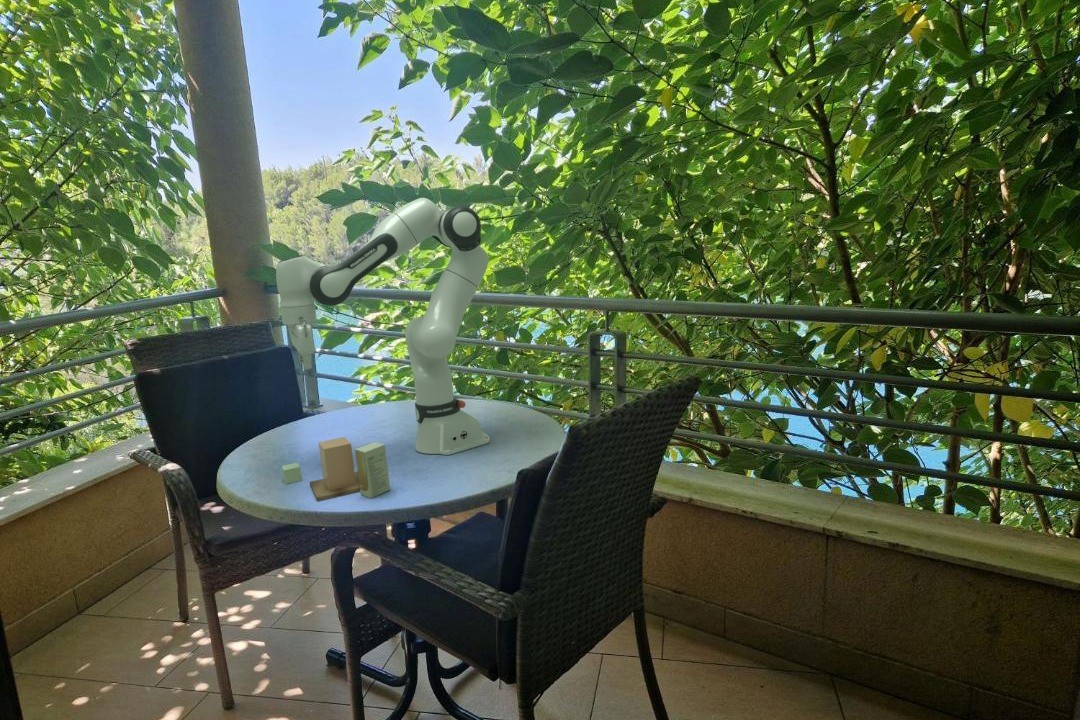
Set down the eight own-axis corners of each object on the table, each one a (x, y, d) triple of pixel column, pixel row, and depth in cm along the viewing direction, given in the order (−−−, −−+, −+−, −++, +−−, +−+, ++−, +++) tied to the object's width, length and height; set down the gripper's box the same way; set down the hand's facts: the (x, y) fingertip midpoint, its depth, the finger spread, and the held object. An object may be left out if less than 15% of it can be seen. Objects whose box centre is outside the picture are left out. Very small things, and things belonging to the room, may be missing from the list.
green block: (299, 476, 170) (297, 462, 170) (301, 480, 167) (299, 466, 166) (283, 480, 168) (281, 466, 168) (286, 484, 165) (283, 470, 164)
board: (360, 474, 169) (359, 470, 169) (370, 489, 159) (370, 485, 158) (310, 485, 163) (309, 481, 163) (317, 501, 153) (316, 497, 152)
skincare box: (380, 486, 160) (375, 441, 157) (391, 490, 157) (386, 444, 155) (359, 495, 155) (353, 448, 153) (369, 499, 152) (364, 451, 150)
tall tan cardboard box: (349, 476, 165) (344, 437, 163) (356, 484, 160) (351, 443, 157) (323, 482, 162) (318, 442, 160) (329, 490, 156) (324, 449, 154)
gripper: (316, 318, 162) (323, 370, 165) (306, 311, 180) (312, 358, 183) (291, 321, 159) (298, 373, 162) (282, 314, 177) (289, 361, 180)
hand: (305, 365), depth 172 cm, fingers open, 8 cm apart
